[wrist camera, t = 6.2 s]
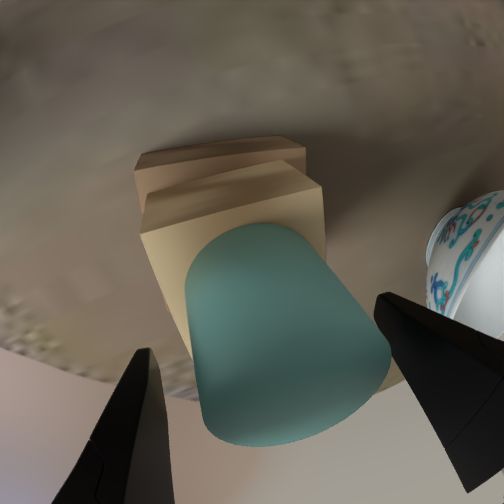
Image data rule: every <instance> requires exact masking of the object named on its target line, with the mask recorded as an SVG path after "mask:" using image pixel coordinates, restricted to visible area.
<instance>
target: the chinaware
mask: <svg viewBox="0 0 504 504" xmlns="http://www.w3.org/2000/svg"><path fill="white" fill-rule="evenodd" d="M426 263H427V266H428V270H427V278H426V302H427V308H428V309H431V310H433V311H435V312H437V313H440V314H442V315H444V316H446V317H449V318H451V319H453V320H455V321H458V322H460V323H462V324H464V325H467V326H469V327H471V328H473V329H475V330H478V331H480V332H482V333H484V334H487V335H489V336H491V337H494V338H496V339H498V338H499V337H500V336H501V335H502V334H503V333H504V190H500V191H494V192H491V193H487V194H485V195H482V196H480V197H478V198H476V199H474V200H472V201H471V202H469V203H468V204H466V205H465V206H464V207H459V208H456V209H453V210H452V211H450V212H449V213H447V214H446V215H445V216H444V217H443V218H442V219H441V220H440V222H439V223H438V224H437V226H436V227H435V229H434V231H433V233H432V235H431V237H430V240H429V243H428V246H427V251H426Z"/></svg>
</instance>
